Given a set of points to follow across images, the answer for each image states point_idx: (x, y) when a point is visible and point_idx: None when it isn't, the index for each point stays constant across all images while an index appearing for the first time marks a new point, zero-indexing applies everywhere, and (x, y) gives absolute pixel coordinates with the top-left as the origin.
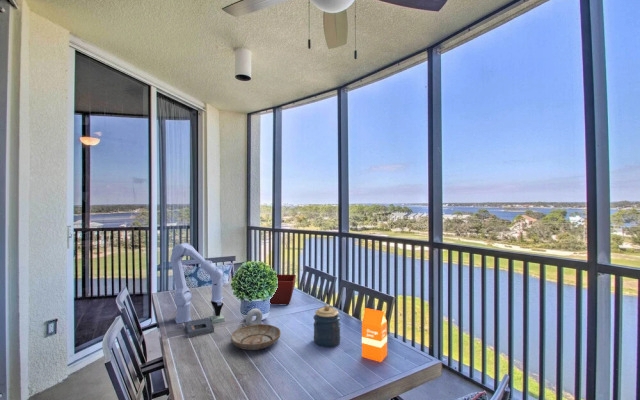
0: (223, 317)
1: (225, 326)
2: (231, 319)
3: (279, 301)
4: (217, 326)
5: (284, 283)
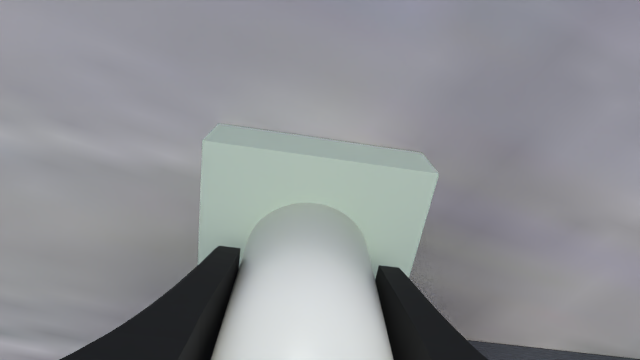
0: (409, 180)
1: (613, 209)
2: (424, 17)
3: None
4: (521, 284)
5: None
